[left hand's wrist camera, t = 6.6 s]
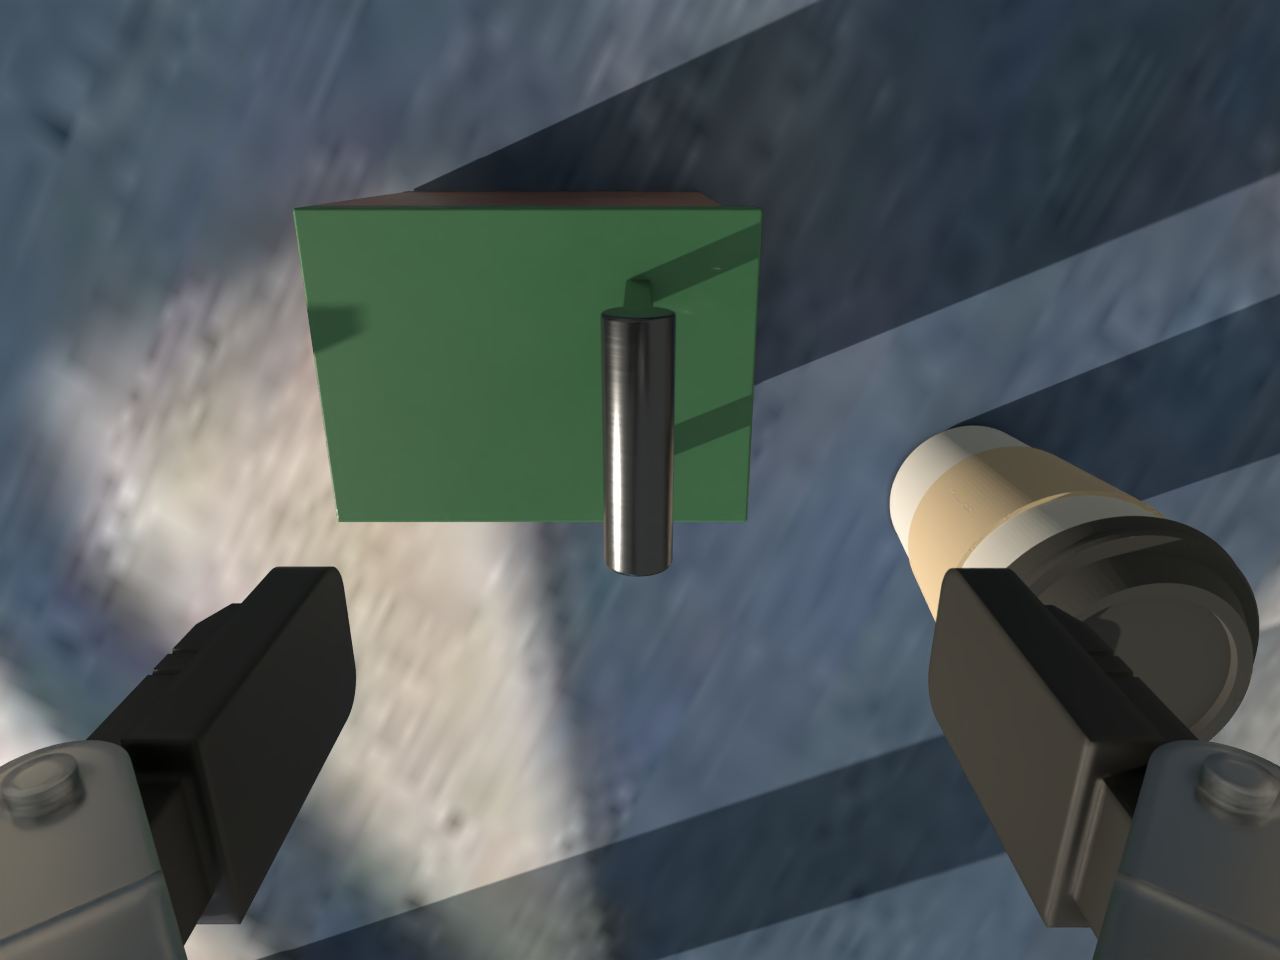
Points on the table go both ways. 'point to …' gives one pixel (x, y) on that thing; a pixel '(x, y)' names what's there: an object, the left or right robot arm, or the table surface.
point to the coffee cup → (1085, 563)
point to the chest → (534, 198)
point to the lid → (537, 364)
